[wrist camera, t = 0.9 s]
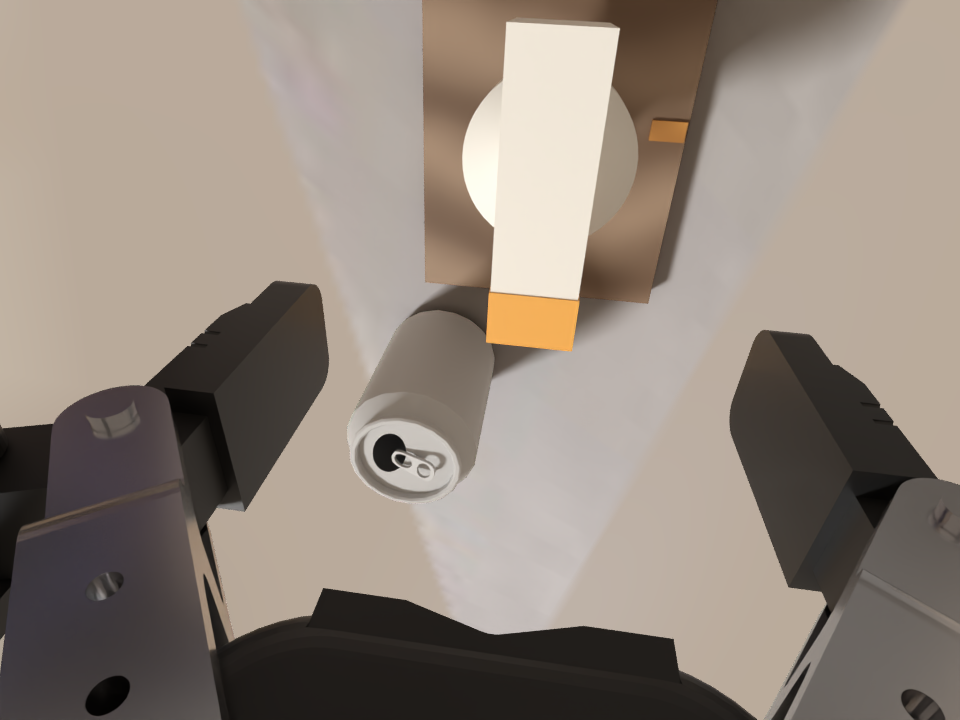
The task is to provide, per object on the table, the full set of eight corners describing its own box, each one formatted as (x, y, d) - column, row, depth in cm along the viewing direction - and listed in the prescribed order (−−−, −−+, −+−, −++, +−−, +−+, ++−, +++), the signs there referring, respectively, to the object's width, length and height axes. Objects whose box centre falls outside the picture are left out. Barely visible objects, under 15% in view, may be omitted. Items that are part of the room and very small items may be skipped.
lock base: (428, -122, 26) (385, -159, 20) (735, -111, 25) (791, -147, 19) (430, 272, 37) (402, 327, 31) (645, 292, 36) (661, 354, 30)
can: (404, 290, 38) (346, 393, 28) (509, 323, 39) (489, 437, 29) (384, 376, 42) (328, 492, 32) (480, 405, 43) (453, 529, 33)
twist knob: (475, 11, 22) (432, 17, 15) (655, 21, 22) (698, 32, 15) (467, 249, 28) (433, 337, 21) (611, 263, 27) (626, 357, 20)
